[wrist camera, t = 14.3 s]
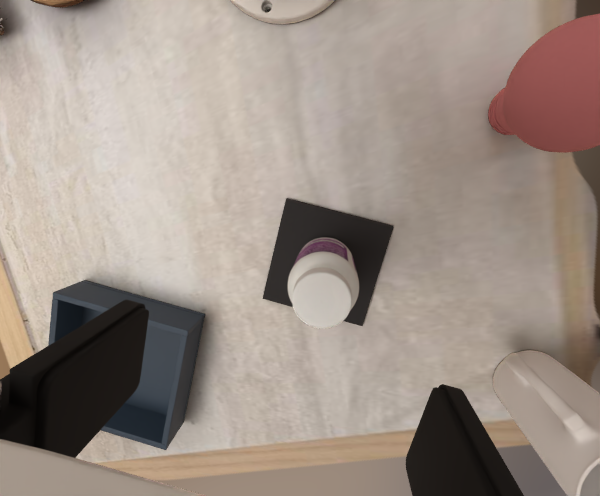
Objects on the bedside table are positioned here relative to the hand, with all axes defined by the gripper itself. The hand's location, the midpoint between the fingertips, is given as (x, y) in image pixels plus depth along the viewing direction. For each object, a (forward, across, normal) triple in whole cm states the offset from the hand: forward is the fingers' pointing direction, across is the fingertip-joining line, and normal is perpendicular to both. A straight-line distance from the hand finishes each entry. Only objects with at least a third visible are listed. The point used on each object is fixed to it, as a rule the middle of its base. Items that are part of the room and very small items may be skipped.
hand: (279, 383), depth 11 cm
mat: (+21, -1, +2) cm, 21 cm away
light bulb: (+22, -12, -14) cm, 29 cm away
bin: (+21, +16, +16) cm, 31 cm away
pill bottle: (+21, -1, +2) cm, 21 cm away
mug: (+21, -21, +7) cm, 31 cm away
